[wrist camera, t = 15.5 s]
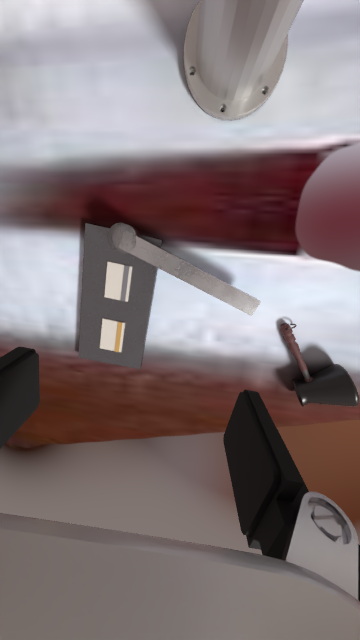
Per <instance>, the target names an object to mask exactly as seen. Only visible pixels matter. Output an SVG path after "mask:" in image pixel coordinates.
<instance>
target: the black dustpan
mask: <svg viewBox="0 0 360 640" xmlns="http://www.w3.org/2000/svg"><path fill="white" fill-rule="evenodd" d="M290 325H295V326H294V327H292V328H295V327H296V324H290ZM292 328H290V326H289V324H287V323H285V324H282V325H281V331H282V335H284V339H285V341H286V342H287V343H288V348H289V349H290V351H291V352H292V354H293V355H294V356H295V358H296V360H297V363H298V366H299V369H300V370H301V371H302V373H303V375H304V377H305V378H304V379H303V380H301V381H296V380H293V384H294V388H295V391H296V394H297V397H298V399H299V401H300V403H301V405H302V406H305V405H306V404H308V403H316V404H328V405H340V406H352V407H354V406H357V405H358V404H359V396H358V392H357V389H356V387H355V385H354V382H353V381H352V379H351V377H350V375H349V374H348V373H347V371H346V370H345V369H344V368H343V367H342V366H341V365H338V364H334V365H331V366H329V367H327V368H325V369H323V370H321V371H319V372H317V373H315V374H313V375H311V376H310V375H309V373H308V370H307V366H306V364H305V362H304V360H303V359H302V357H301V353H300V350H299V346H298V344H297V343H296V342H295V337H294V334H292Z"/></svg>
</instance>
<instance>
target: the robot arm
mask: <svg viewBox="0 0 360 640" xmlns="http://www.w3.org/2000/svg"><path fill="white" fill-rule="evenodd" d="M303 1H304V0H199V2H198V4H197V6H196V7H195V9H194V11H193V13H192V16H191V18H190V21H189V23H188V27H187V31H186V36H185V43H184V69H185V76H186V80H187V84H188V87H189V89H190V92H191V94H192V96H193V98H194V99H195V101H196V102H197V103H198V105H199V106H200V107H201V108H202V109H203V110H204V111H205V112H206V113H208V114H209V115H211V116H213V117H215V118H218V119H221V120H230V121H232V120H238V119H242V118H244V117H246V116H249V115H250V114H252V113H253V112H255V111H256V110H258V109H259V108H260V107H261V106H262V105H263V104H264V103H265V102H266V100H267V99H268V98H269V96H270V95H271V93H272V92H273V90H274V88H275V86H276V85H277V83H278V81H279V78H280V76H281V74H282V71H283V68H284V64H285V61H286V55H287V48H288V32H289V30H290V28H291V25H292V23H293V21H294V19H295V17H296V15H297V13H298V11H299V9H300V7H301V5H302V3H303ZM191 74H193V75H192V76H191ZM262 93H264V94H262ZM221 110H223V111H224V112H221ZM39 402H40V394H39V355H38V354H37V353H36V351H35V350H34V349H30V348H25V347H17V348H15V349H14V350H12V351H10V352H9V353H7V354H6V355H4V356H2V357H1V358H0V448H1V447H2V446H3V445H4V444H5V443H6V442H7V441H8V440H9V438H10V437H11V436H12V435H13V434H14V433H15V432H16V431H17V430H18V429H19V428H20V426H21V425H22V424H23V423H24V422H25V421H26V420H27V419H28V418H29V417H30V415H31V414H32V413H33V412H34V411H35V410H36V409H37V407H38V405H39ZM224 446H225V451H226V456H227V462H228V466H229V471H230V477H231V481H232V487H233V491H234V497H235V501H236V507H237V512H238V517H239V522H240V527H241V531H242V533H243V534H244V535H246V536H247V541H248V545H249V548H255V549H261V550H262V554H263V555H260V554H254V553H249V552H243V551H238V550H232V549H227V548H221V547H215V546H211V545H204V544H198V543H192V542H185V541H179V540H172V539H167V538H160V537H153V536H148V535H141V534H135V533H129V532H122V531H116V530H109V529H102V528H96V527H90V526H83V525H76V524H70V523H63V522H57V521H50V520H44V519H37V518H31V517H24V516H17V515H10V514H3V513H0V640H360V545H359V544H358V538H357V533H356V531H355V529H354V527H353V524H352V523H351V521H350V520H349V518H348V517H347V515H346V514H345V513H344V512H343V511H342V510H341V509H340V507H339V506H337V505H336V504H335V503H334V502H333V501H332V500H330V499H329V498H327V497H325V496H324V495H322V494H319V493H317V492H309V491H308V489H307V487H306V485H305V483H304V481H303V479H302V477H301V475H300V473H299V471H298V469H297V467H296V465H295V463H294V461H293V460H292V457H291V455H290V453H289V451H288V450H287V448H286V445H285V444H284V441H283V440H282V438H281V436H280V434H279V432H278V430H277V428H276V427H275V425H274V423H273V421H272V419H271V417H270V415H269V413H268V411H267V409H266V407H265V405H264V403H263V401H262V399H261V397H260V395H259V393H258V392H255V391H250V390H244V392H240V394H239V396H238V399H237V401H236V404H235V407H234V409H233V412H232V415H231V417H230V420H229V423H228V426H227V428H226V431H225V434H224Z"/></svg>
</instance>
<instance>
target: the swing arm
mask: <svg viewBox="0 0 360 640" xmlns="http://www.w3.org/2000/svg"><path fill="white" fill-rule="evenodd" d="M107 240H108V244H109V246H110V247H111V248H112V249H113V250H114V251H115V252H117V253H119V254H128V253H130V254H132V255H134V256H136V257H138V258H140V259H142V260H144V261H146V262H148V263H150V264H152V265H154V266H156V267H158V268H160V269H161V270H163V271H165V272H167V273H169V274H171V275H173V276H175V277H177V278H179V279H181V280H183V281H185V282H187V283H189V284H191V285H193V286H195V287H196V288H198V289H200V290H202V291H204V292H206V293H208V294H210V295H212V296H214V297H216V298H218V299H220V300H222V301H224V302H226V303H228V304H230V305H232V306H233V307H235V308H237V309H239V310H241V311H243V312H245V313H247V314H249V315H251V316H252V314H253V313H254V311H255V310H256V308H257V307H258V305H259V304H260V302H261V301H259V300H258V299H256V298H254V297H253V296H251V295H249V294H247V293H245V292H243V291H241V290H239V289H237V288H236V287H234V286H232V285H230V284H228V283H226V282H224V281H222V280H220V279H218V278H217V277H215V276H213V275H211V274H209V273H207V272H205V271H203V270H201V269H200V268H198V267H196V266H194V265H192V264H190V263H188V262H186V261H184V260H183V259H181V258H179V257H177V256H175V255H173V254H171V253H169V252H167V251H166V250H164V249H162V248H160V247H158V246H156V245H154V244H152V243H150V242H148V241H147V240H145V239H143V238H141V235H140V233H139V231H138V230H137V229H136V228H134V227H132V226H130V225H127V224H124V223H117V224H114V225H113V226H111V228H110V229H109V231H108V234H107Z"/></svg>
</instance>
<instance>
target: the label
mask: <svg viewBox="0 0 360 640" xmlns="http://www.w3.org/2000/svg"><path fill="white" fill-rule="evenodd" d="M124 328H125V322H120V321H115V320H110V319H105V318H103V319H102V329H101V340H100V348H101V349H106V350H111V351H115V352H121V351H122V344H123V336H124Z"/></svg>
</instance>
